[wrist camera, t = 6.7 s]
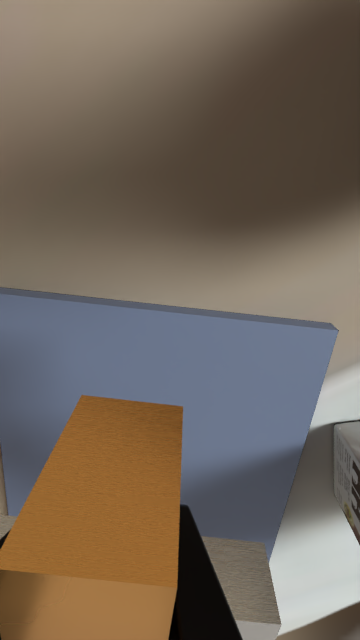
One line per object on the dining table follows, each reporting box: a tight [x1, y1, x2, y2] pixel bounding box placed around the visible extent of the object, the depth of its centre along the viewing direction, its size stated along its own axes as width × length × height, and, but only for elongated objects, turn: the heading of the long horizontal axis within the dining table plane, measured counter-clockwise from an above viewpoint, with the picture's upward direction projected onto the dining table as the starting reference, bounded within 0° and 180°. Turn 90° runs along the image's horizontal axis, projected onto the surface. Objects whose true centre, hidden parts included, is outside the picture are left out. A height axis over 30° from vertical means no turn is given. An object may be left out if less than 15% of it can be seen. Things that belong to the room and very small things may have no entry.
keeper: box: [0, 287, 339, 563], centre depth 18 cm, size 18×18×7 cm
